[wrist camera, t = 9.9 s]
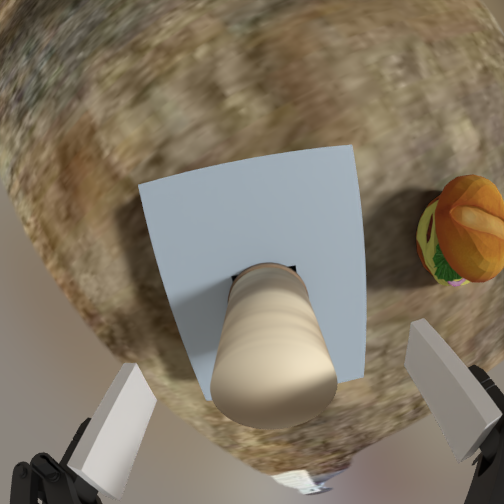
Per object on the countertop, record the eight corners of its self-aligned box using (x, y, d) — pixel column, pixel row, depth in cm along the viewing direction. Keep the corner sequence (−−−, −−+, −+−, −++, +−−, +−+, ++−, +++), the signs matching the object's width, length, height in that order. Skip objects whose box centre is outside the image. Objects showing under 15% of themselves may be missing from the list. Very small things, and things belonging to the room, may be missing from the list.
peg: (227, 251, 24) (190, 351, 10) (294, 240, 23) (339, 329, 10) (240, 310, 25) (225, 434, 12) (302, 300, 25) (338, 419, 11)
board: (161, 182, 22) (138, 185, 18) (332, 150, 21) (352, 144, 17) (213, 368, 28) (206, 400, 23) (349, 347, 27) (363, 376, 22)
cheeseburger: (416, 298, 25) (467, 325, 15) (388, 202, 25) (436, 186, 15) (479, 263, 24) (535, 273, 14) (455, 175, 23) (509, 157, 14)
